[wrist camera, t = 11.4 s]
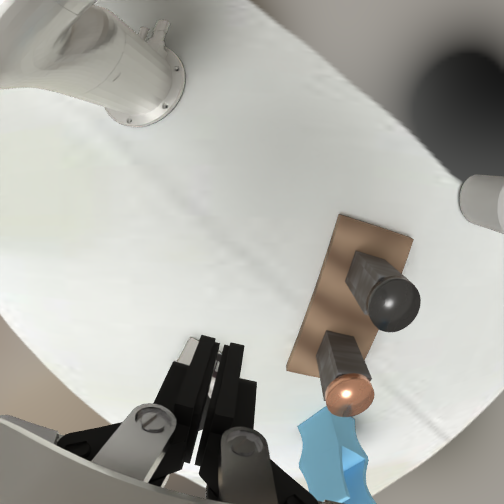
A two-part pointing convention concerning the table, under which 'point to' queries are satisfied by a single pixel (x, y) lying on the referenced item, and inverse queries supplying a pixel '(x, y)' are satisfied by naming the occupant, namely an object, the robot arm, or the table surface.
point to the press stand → (346, 300)
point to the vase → (334, 459)
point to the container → (186, 359)
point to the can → (484, 201)
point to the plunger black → (393, 303)
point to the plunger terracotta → (349, 395)
